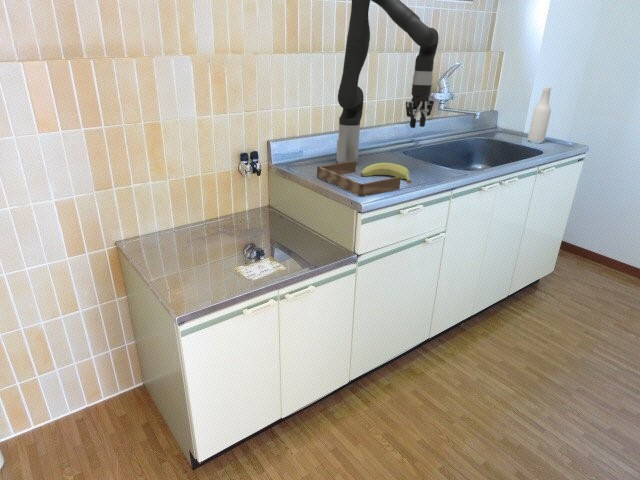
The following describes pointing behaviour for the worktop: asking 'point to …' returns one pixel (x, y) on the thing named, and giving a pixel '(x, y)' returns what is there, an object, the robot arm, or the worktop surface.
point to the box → (334, 177)
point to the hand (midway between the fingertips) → (417, 126)
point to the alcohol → (540, 117)
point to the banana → (387, 170)
